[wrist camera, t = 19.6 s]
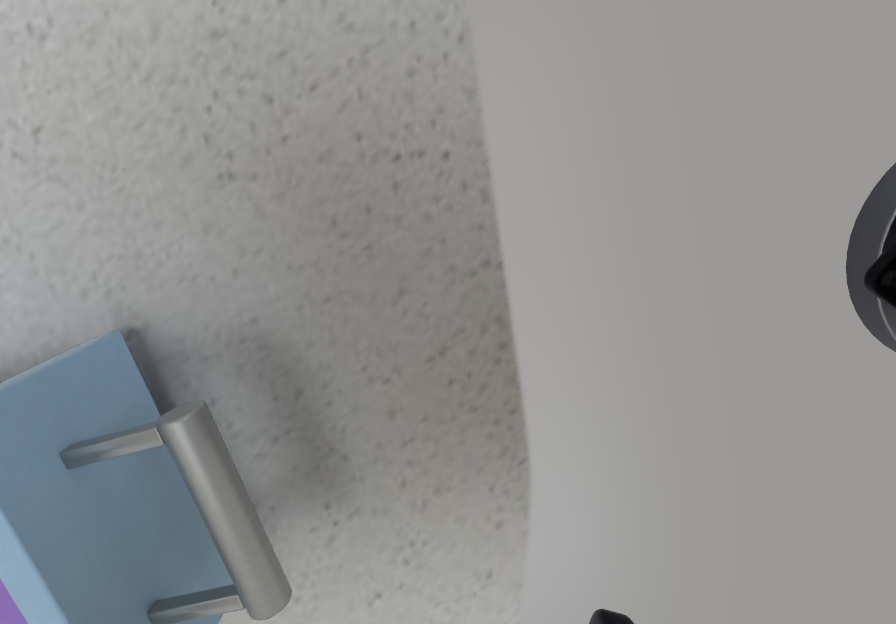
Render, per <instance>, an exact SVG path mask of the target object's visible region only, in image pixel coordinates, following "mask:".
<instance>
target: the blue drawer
mask: <svg viewBox="0 0 896 624" xmlns="http://www.w3.org/2000/svg"><path fill="white" fill-rule="evenodd" d="M0 580H1V582H2V583H3V585H4V587H5V588H6V590H7V591H8V593H9V595H10V596H11V598H12V599H13V601H14V603H15V604H16V606H17V608H18V609H19V611H20V612H21V614H22V616H23V617H24V619H25V620H26V622H27V624H218V622H219V620H220V619H221V617H222V615H223V613H228V612H233V611H238V610H243V609H245V608H246V610H247V612H248V614H249V616H250V617H251V618H252V619H254V620H265V619H268V618H270V617H272V616H274V615H276V614H277V613H279V612H280V611H281V610H282V609H283V608H284V607H285V606H286V605H287V604H288V602H289V601H290V598H291V595H292V590H291V587H290V585H289V583H288V580H287V578H286V576H285V574H284V572H283V570H282V567H281V565H280V563H279V561H278V559H277V556H276V554H275V552H274V550H273V548H272V545H271V543H270V541H269V539H268V537H267V535H266V532H265V530H264V528H263V526H262V524H261V521H260V519H259V517H258V515H257V513H256V510H255V508H254V506H253V504H252V502H251V500H250V497H249V495H248V493H247V491H246V489H245V486H244V484H243V482H242V480H241V478H240V475H239V473H238V471H237V469H236V467H235V465H234V462H233V460H232V458H231V456H230V454H229V451H228V449H227V447H226V445H225V443H224V440H223V438H222V436H221V434H220V432H219V430H218V427H217V425H216V423H215V421H214V419H213V416H212V414H211V412H210V410H209V408H208V405H207V403H206V402H205V401H204V400H197V401H192V402H188V403H185V404H183V405H180V406H178V407H176V408H174V409H172V410H170V411H168V412H167V413H165V414H164V415H162V416H161V415H160V413H159V411H158V409H157V407H156V405H155V403H154V400H153V398H152V396H151V394H150V392H149V390H148V388H147V386H146V384H145V382H144V380H143V378H142V376H141V374H140V372H139V369H138V367H137V365H136V363H135V361H134V359H133V357H132V355H131V353H130V351H129V349H128V347H127V345H126V343H125V341H124V338H123V336H122V334H121V332H120V331H115V332H111V333H108V334H105V335H101V336H98V337H94V338H92V339H90V340H87V341H85V342H83V343H81V344H79V345H77V346H75V347H73V348H71V349H69V350H67V351H65V352H63V353H61V354H59V355H57V356H54V357H52V358H50V359H48V360H46V361H44V362H42V363H40V364H38V365H36V366H34V367H32V368H30V369H28V370H26V371H23V372H21V373H19V374H17V375H15V376H13V377H11V378H9V379H7V380H5V381H3V382H1V383H0Z"/></svg>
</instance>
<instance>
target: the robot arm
mask: <svg viewBox="0 0 896 624" xmlns="http://www.w3.org/2000/svg"><path fill="white" fill-rule="evenodd" d="M887 273H890V274H891V279H890V280H889V282H888V283H887V284H885V285H883V286H882V278H883V277H884V275H886V274H887ZM864 284H865V287H866V288H867V289H868V291H870V292H871V293H872V294H874V295H875V296H876V297H878V298H879V299H880V300H882V301H883V302H884V303H886V304H887V305H888V306H890V307H891V308H892V309H894V310H895V311H896V240H895V241H894V242H893V244H892V245H891V246H890V247H889V248H888V249H887V250H886V251H885V252H884V253H883V254H882V255H881V256H880V257H879V258H878V259H877V260H876V261H875V262H874V263H873V265H872V266H871V267H870V268H869V269H868V270H867V272H866V273H865V277H864ZM589 624H634V623H633V622H632V621H631V619H630V618H629V617H627V616H626V615H623V614H620V613H616V612H612V611H609V610H604V609H599V610H596V611H595V612H594V614H593V616H592V618H591V620H590V622H589Z"/></svg>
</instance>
